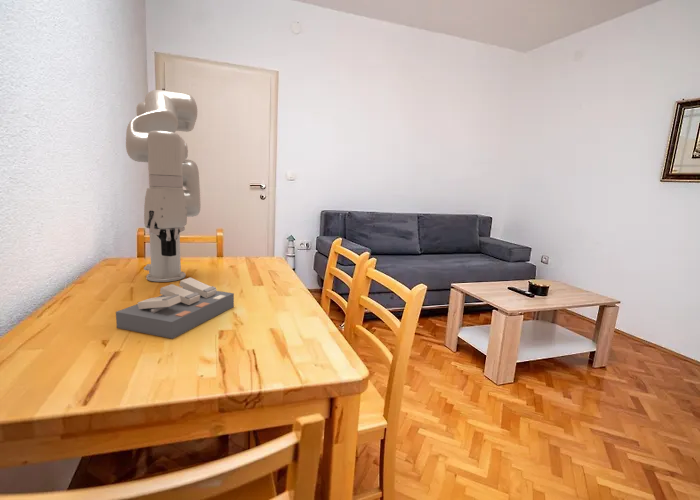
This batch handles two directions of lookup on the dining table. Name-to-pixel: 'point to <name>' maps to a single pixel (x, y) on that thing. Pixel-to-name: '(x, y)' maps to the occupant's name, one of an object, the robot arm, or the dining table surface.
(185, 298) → the rocker
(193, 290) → the rocker
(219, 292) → the switch unit
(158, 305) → the rocker
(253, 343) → the dining table surface
